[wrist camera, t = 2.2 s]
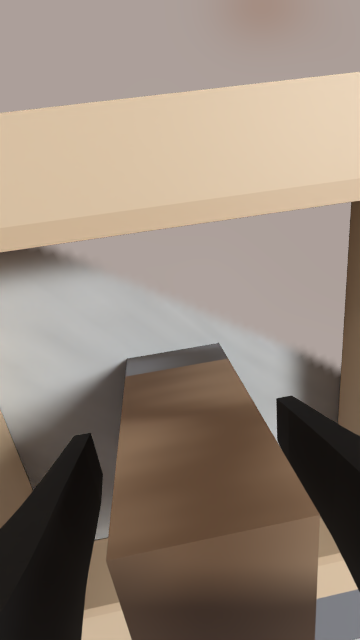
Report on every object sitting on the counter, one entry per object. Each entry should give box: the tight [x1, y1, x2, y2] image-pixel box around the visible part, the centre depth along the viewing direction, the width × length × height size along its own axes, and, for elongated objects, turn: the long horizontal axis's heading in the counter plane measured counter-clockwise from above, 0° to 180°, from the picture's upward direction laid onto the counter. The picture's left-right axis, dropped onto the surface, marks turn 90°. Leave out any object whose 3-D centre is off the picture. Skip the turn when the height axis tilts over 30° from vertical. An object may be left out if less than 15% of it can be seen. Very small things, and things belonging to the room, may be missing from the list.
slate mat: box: [315, 589, 360, 640], centre depth 20 cm, size 10×10×1 cm
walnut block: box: [106, 343, 320, 640], centre depth 10 cm, size 4×5×8 cm
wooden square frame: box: [0, 72, 360, 640], centre depth 12 cm, size 22×22×3 cm
